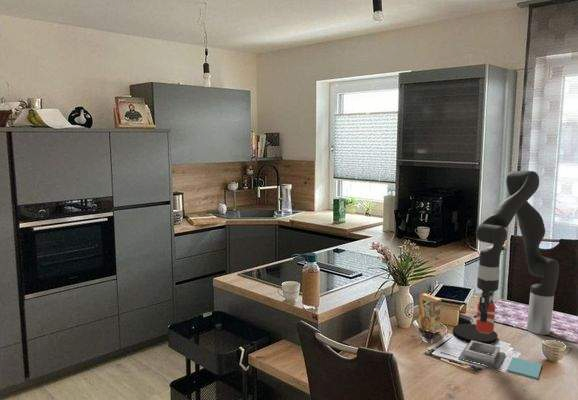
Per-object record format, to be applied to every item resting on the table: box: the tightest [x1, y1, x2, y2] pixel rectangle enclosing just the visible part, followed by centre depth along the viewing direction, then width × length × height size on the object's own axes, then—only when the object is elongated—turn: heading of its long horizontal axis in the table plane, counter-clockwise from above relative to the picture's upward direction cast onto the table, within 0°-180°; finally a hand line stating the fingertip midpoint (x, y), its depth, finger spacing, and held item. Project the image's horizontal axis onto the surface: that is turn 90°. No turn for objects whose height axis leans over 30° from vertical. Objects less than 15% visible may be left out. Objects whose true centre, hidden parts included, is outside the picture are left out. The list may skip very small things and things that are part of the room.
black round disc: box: [452, 323, 498, 345], centre depth 203 cm, size 18×18×2 cm
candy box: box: [417, 293, 442, 333], centre depth 207 cm, size 9×4×15 cm, turn 34°
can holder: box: [458, 340, 506, 371], centre depth 183 cm, size 14×14×4 cm
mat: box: [506, 356, 543, 380], centre depth 175 cm, size 12×10×1 cm
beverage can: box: [475, 299, 496, 334], centre depth 181 cm, size 6×6×12 cm
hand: (485, 318), depth 181 cm, fingers closed on beverage can, 6 cm apart
